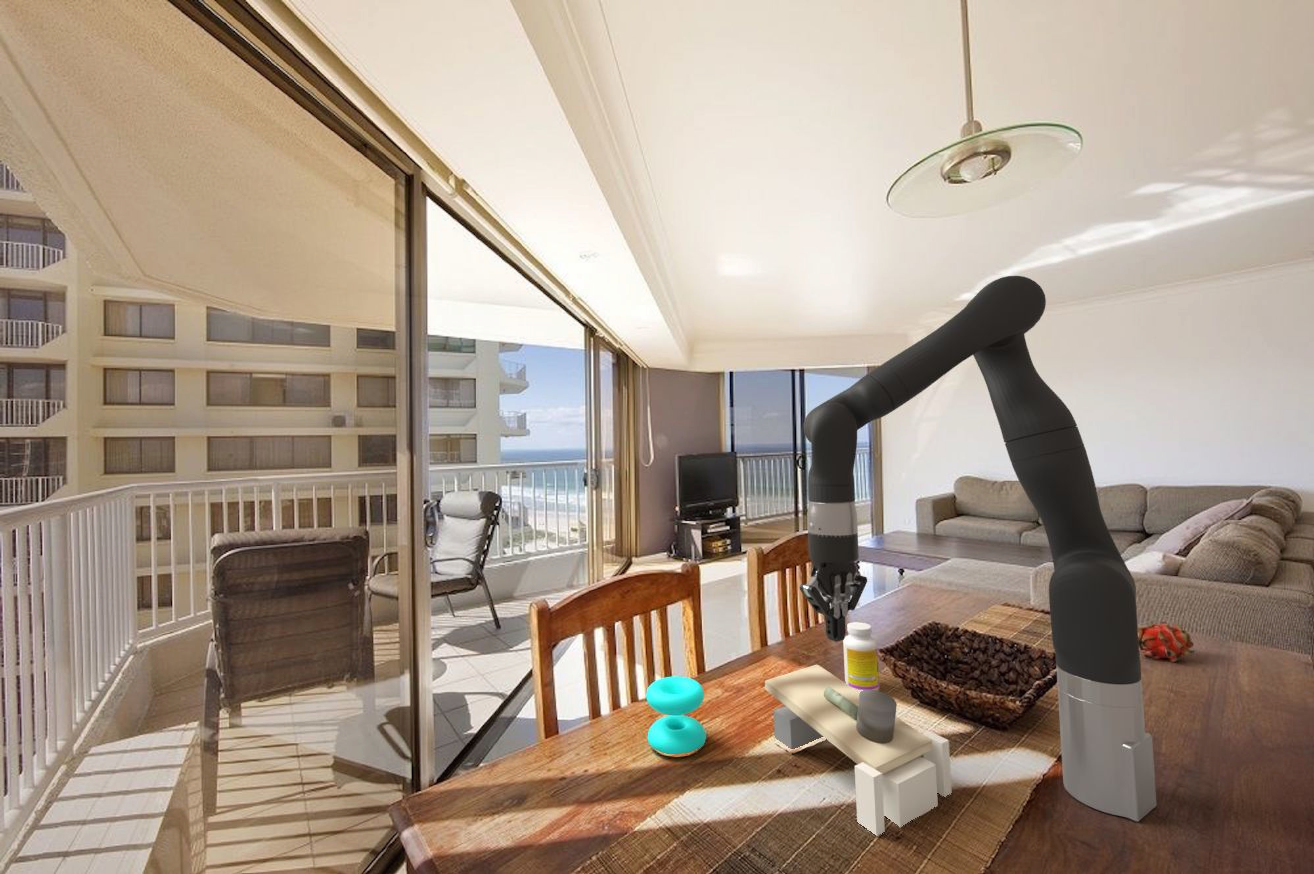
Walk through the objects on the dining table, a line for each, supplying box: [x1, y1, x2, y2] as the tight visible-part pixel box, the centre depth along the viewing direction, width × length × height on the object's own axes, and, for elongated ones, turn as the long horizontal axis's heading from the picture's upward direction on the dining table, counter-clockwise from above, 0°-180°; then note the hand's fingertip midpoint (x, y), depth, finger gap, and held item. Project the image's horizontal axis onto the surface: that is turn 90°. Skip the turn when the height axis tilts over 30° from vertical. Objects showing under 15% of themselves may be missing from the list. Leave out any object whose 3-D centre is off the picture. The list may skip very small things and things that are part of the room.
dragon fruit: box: [1138, 621, 1195, 663], centre depth 119 cm, size 8×8×12 cm
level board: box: [764, 664, 932, 774], centre depth 82 cm, size 22×12×6 cm, turn 29°
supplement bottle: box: [842, 621, 880, 690], centre depth 110 cm, size 7×7×13 cm
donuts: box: [645, 676, 707, 754], centre depth 91 cm, size 10×10×10 cm
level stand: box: [773, 705, 953, 837], centre depth 82 cm, size 24×16×8 cm, turn 29°
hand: (836, 639), depth 84 cm, fingers closed
